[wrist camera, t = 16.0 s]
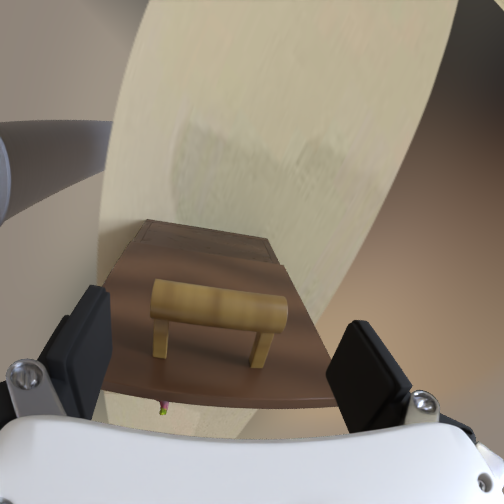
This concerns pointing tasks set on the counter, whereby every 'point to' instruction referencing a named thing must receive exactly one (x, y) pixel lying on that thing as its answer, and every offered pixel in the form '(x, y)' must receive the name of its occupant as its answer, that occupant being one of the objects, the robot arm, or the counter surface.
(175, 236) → the chest
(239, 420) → the counter surface
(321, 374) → the lid
